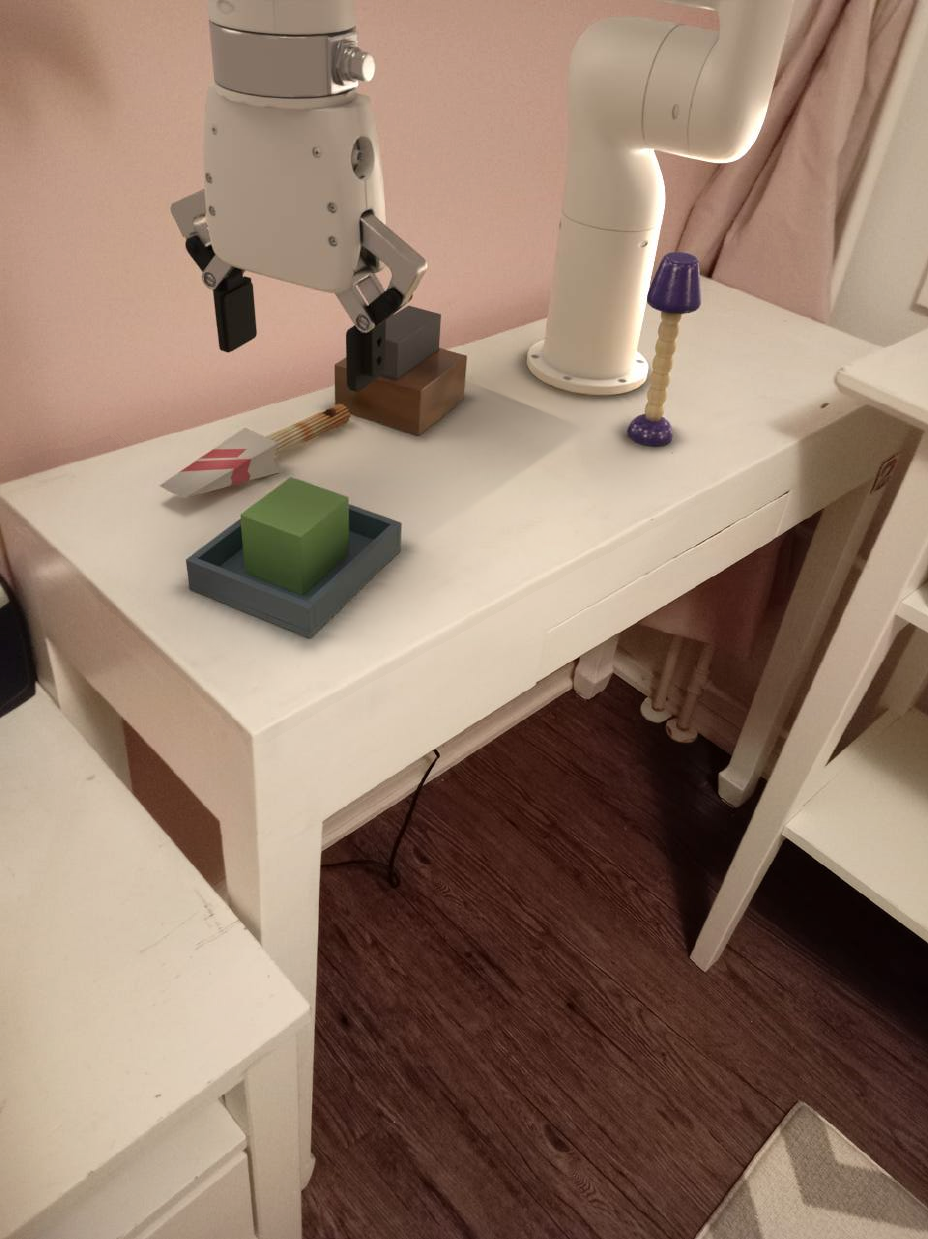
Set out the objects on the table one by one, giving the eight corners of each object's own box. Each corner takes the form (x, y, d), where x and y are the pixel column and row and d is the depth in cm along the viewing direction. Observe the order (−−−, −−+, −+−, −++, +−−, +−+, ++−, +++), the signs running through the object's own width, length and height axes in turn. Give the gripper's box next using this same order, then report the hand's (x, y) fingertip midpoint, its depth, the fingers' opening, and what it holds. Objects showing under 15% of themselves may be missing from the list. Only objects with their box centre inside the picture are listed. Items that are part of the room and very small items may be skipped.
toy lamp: (641, 451, 89) (679, 269, 79) (610, 428, 92) (643, 250, 82) (681, 441, 91) (724, 262, 81) (649, 419, 94) (687, 244, 84)
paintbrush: (152, 466, 75) (328, 392, 89) (155, 497, 77) (327, 420, 91) (186, 484, 74) (360, 406, 87) (189, 515, 75) (359, 434, 89)
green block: (293, 533, 74) (290, 476, 71) (349, 554, 73) (349, 496, 69) (244, 572, 70) (239, 514, 67) (303, 596, 68) (300, 537, 65)
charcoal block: (407, 340, 94) (408, 305, 91) (439, 349, 93) (441, 314, 90) (363, 370, 88) (363, 333, 86) (396, 380, 87) (397, 343, 85)
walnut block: (384, 375, 98) (385, 332, 95) (463, 399, 95) (467, 355, 92) (334, 409, 91) (334, 364, 88) (418, 436, 88) (420, 390, 86)
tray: (289, 510, 78) (288, 482, 76) (400, 551, 74) (401, 522, 73) (189, 589, 69) (185, 559, 67) (310, 639, 66) (309, 609, 64)
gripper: (462, 77, 52) (446, 376, 63) (199, 29, 57) (227, 312, 68) (390, 103, 46) (386, 424, 57) (108, 48, 52) (154, 351, 63)
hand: (300, 363), depth 63 cm, fingers open, 9 cm apart
